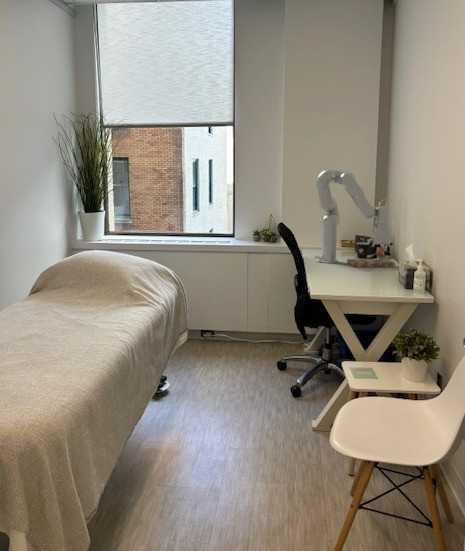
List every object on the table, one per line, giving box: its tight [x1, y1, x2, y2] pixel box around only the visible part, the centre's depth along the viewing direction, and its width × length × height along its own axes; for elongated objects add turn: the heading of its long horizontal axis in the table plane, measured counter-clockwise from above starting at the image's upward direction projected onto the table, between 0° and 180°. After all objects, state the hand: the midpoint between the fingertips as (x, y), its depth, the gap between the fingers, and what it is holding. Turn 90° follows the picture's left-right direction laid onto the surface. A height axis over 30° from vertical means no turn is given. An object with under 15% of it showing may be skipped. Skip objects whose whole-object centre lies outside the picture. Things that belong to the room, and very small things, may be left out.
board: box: [346, 258, 396, 268], centre depth 344 cm, size 26×16×3 cm, turn 93°
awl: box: [375, 246, 385, 262], centre depth 344 cm, size 5×5×11 cm
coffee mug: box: [355, 242, 372, 259], centre depth 371 cm, size 12×9×10 cm
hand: (380, 253), depth 343 cm, fingers open, 9 cm apart
